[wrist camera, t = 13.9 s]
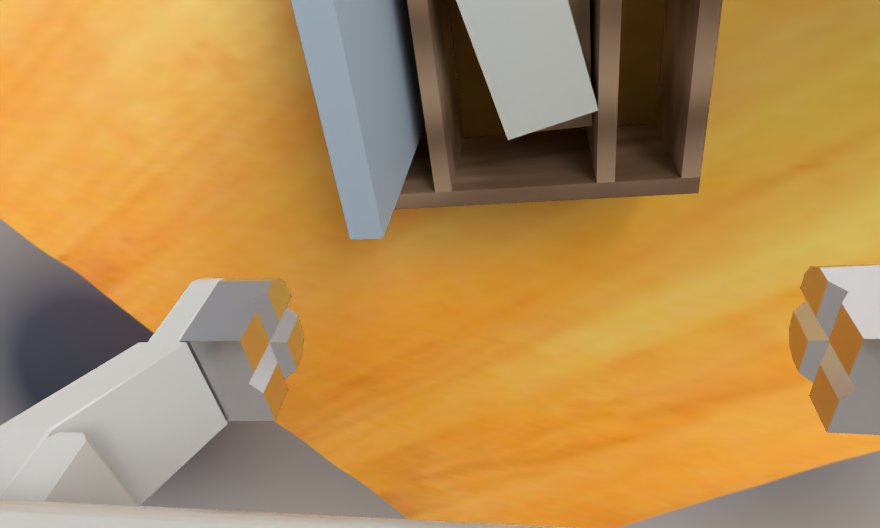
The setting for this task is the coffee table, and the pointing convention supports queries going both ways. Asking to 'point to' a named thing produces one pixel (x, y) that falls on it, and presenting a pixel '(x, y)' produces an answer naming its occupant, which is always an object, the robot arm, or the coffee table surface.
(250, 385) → the robot arm
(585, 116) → the offcut middle
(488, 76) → the offcut top
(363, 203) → the sheet
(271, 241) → the coffee table surface
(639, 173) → the rack
